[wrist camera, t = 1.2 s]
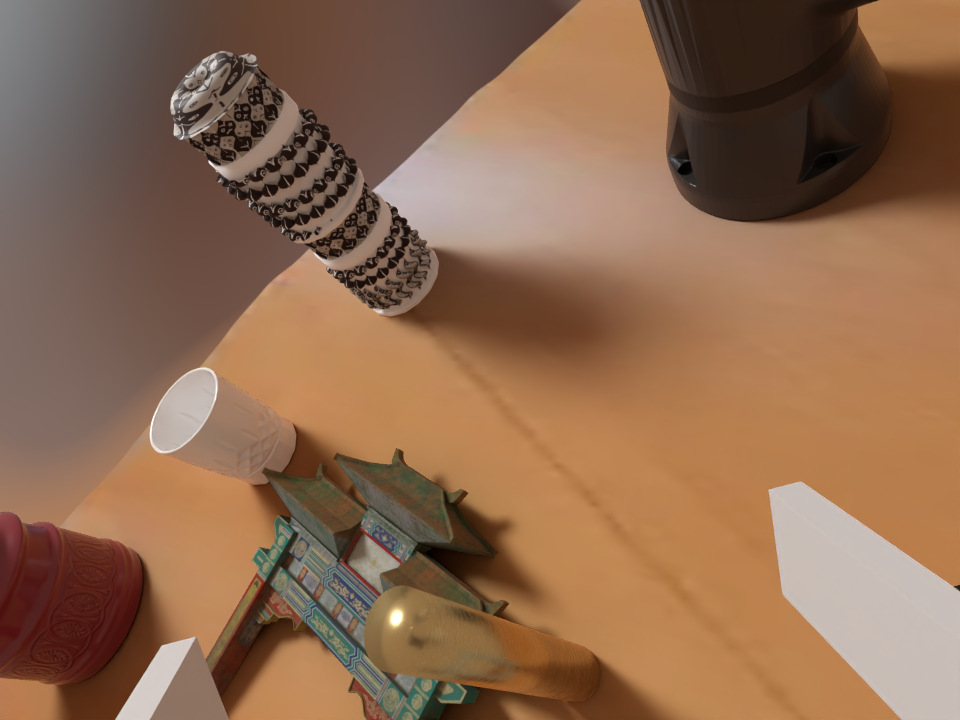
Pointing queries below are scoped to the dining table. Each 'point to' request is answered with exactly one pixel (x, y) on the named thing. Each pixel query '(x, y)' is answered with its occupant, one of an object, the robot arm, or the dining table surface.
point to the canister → (62, 601)
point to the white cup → (221, 428)
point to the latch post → (473, 648)
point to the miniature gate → (356, 575)
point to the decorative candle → (301, 181)
